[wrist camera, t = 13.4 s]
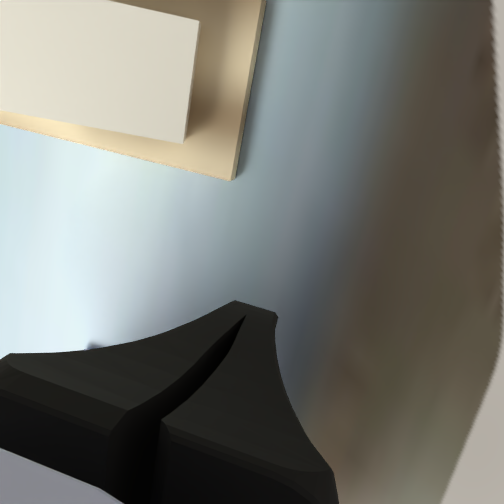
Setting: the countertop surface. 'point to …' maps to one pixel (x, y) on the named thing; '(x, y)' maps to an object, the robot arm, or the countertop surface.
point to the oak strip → (203, 93)
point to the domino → (98, 65)
